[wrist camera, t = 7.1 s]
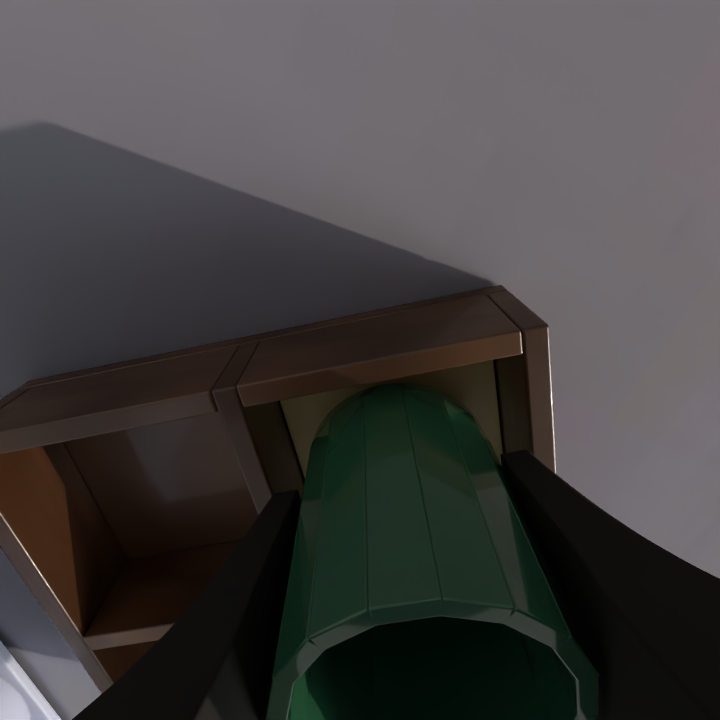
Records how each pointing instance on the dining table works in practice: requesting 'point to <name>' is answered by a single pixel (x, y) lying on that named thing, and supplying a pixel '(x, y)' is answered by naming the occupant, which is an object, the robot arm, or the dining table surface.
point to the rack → (225, 451)
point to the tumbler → (420, 578)
